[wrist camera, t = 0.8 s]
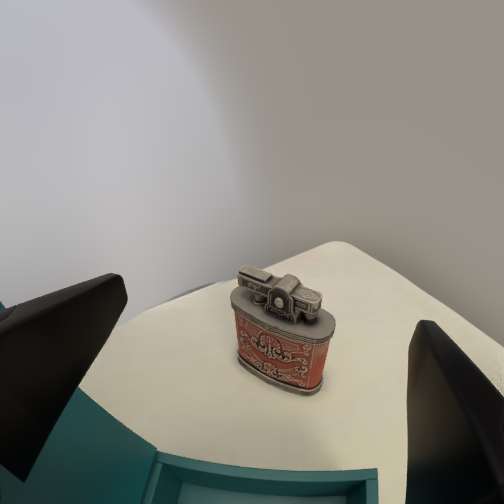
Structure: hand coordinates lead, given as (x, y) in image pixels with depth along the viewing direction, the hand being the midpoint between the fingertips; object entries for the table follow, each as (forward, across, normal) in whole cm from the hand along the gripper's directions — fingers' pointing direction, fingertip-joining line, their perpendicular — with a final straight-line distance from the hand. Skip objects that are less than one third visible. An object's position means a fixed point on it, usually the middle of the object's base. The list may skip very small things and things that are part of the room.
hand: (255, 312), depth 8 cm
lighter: (+11, +1, +16) cm, 19 cm away
